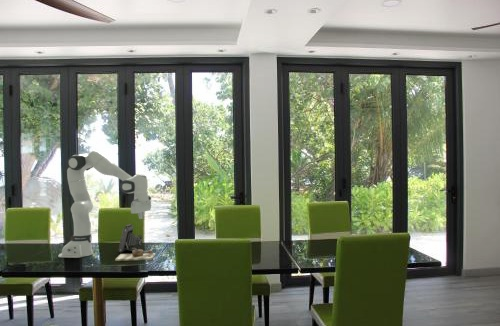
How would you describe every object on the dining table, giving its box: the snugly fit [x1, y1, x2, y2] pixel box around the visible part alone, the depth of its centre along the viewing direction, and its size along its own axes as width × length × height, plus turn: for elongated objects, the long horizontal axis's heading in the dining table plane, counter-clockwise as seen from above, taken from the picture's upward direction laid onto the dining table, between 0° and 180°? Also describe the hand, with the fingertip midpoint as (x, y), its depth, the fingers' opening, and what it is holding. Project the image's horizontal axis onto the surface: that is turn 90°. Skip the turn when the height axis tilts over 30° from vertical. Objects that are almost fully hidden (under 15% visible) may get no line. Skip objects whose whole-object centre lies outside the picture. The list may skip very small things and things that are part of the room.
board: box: [114, 252, 156, 262], centre depth 260 cm, size 24×14×2 cm, turn 95°
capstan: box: [131, 248, 153, 256], centre depth 262 cm, size 13×7×4 cm, turn 105°
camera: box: [118, 223, 145, 254], centre depth 279 cm, size 11×17×20 cm, turn 79°
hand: (141, 218), depth 258 cm, fingers closed
